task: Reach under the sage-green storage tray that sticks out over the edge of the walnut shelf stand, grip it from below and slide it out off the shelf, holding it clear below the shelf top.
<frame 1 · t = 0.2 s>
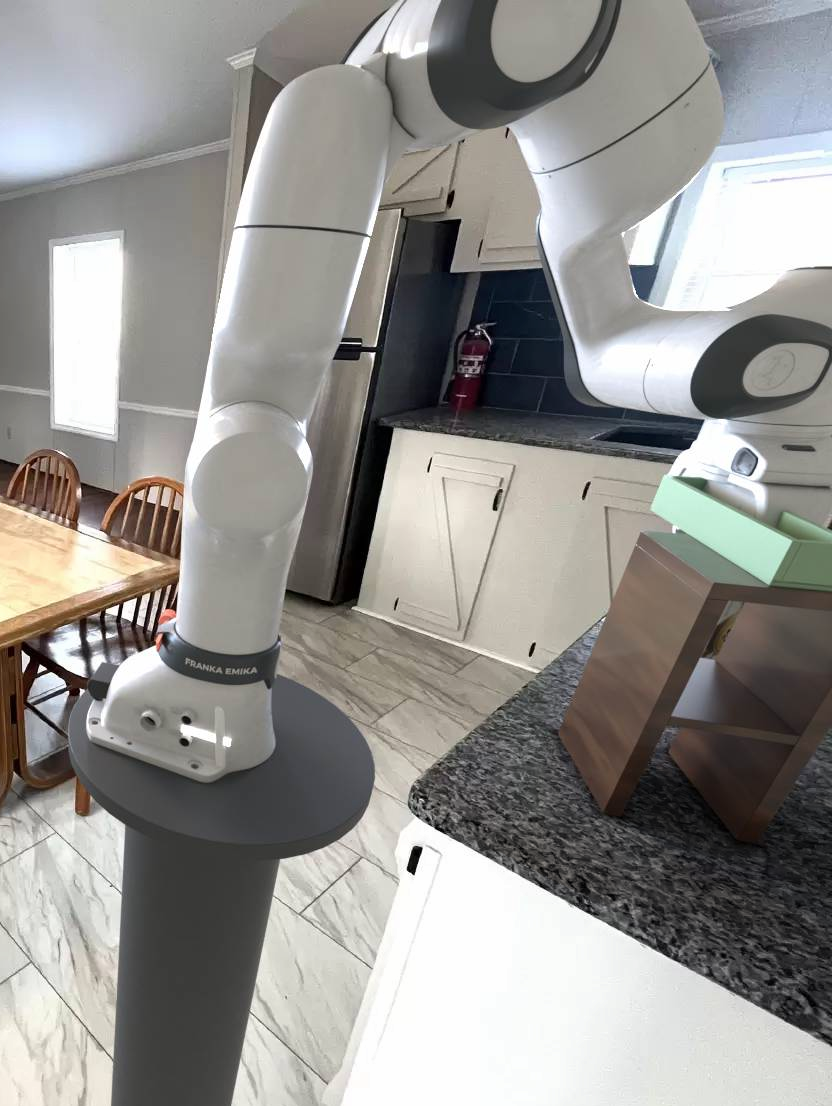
hand: (696, 573, 70), 20 cm above the worktop, tool pointing down, fingers open, 6 cm apart
storage tray: (730, 544, 61), point 26 cm above the worktop, touching shelf stand
shelf stand: (645, 782, 69), on the worktop
coffee box: (694, 650, 93), on the worktop
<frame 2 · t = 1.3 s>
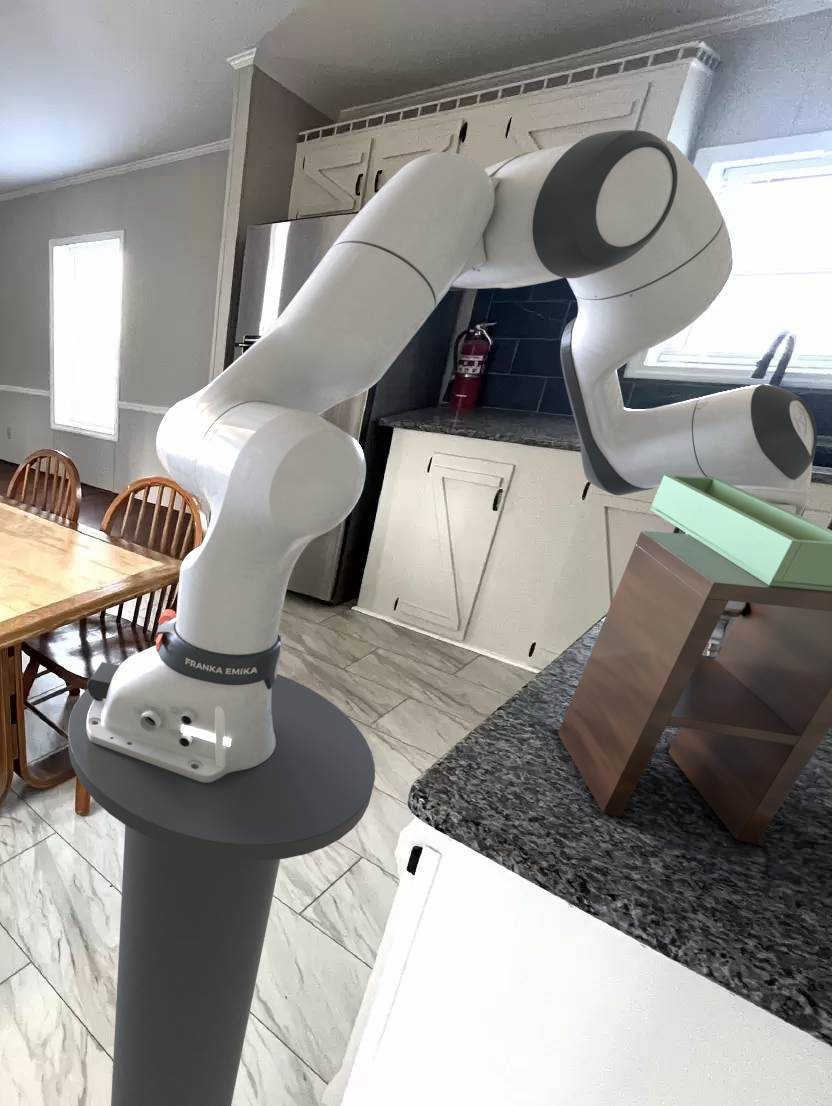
hand: (716, 636, 68), 14 cm above the worktop, tool tilted 55°, fingers open, 8 cm apart
nothing on the worktop moved.
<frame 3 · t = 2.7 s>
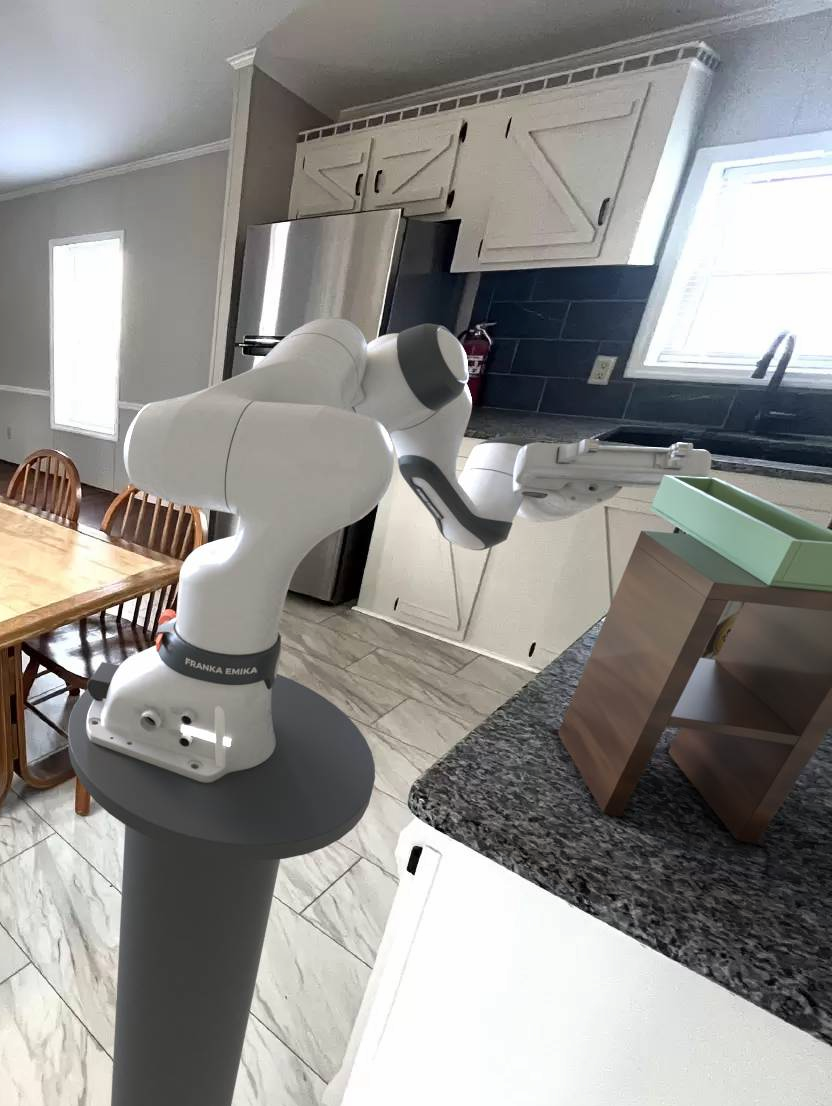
hand: (637, 446, 80), 30 cm above the worktop, tool pointing upward, fingers open, 8 cm apart
nothing on the worktop moved.
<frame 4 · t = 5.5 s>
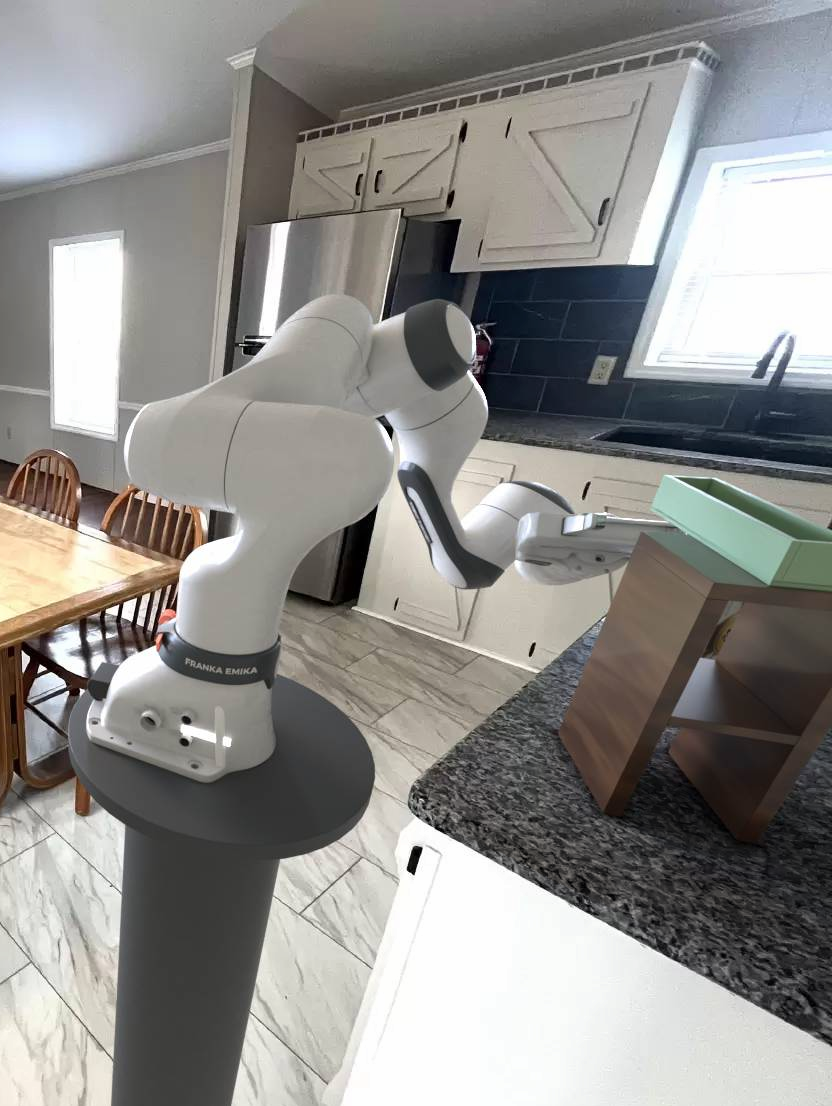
hand: (648, 523, 75), 23 cm above the worktop, tool pointing upward, fingers open, 8 cm apart
nothing on the worktop moved.
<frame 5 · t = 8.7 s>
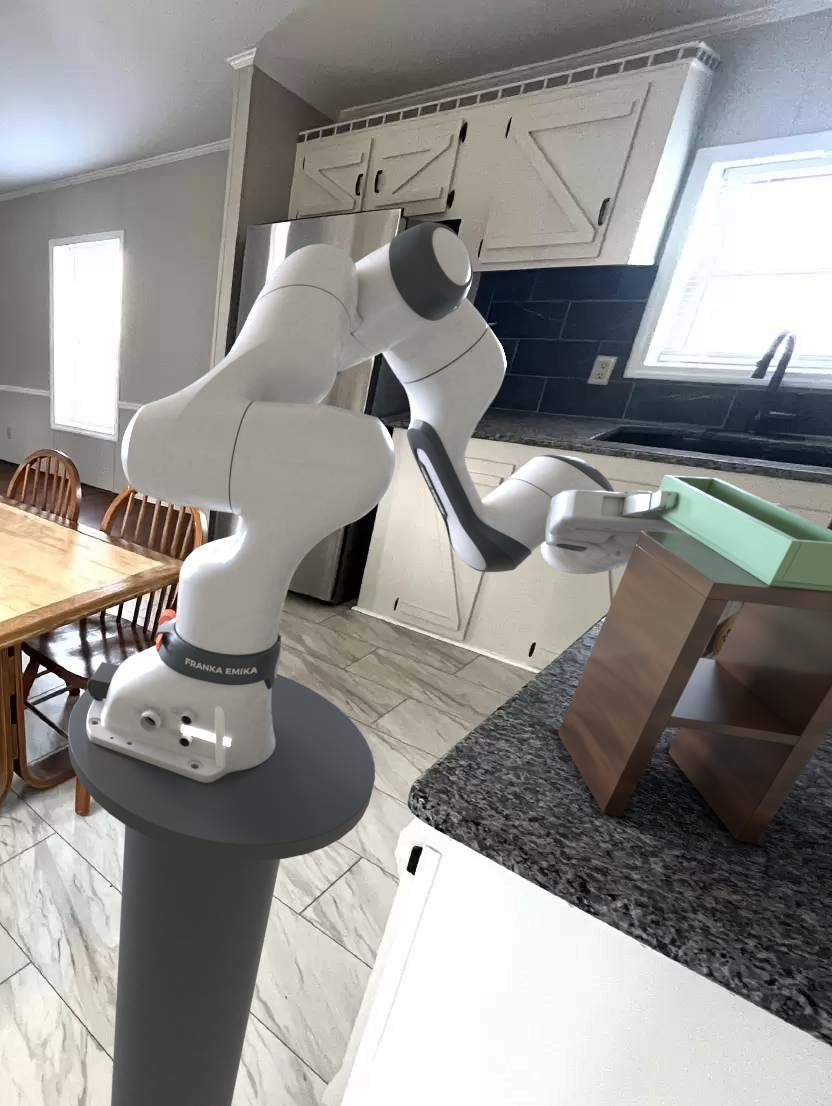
hand: (704, 500, 66), 28 cm above the worktop, tool pointing upward, fingers closed on storage tray, 4 cm apart
storage tray: (730, 544, 61), point 26 cm above the worktop, touching gripper, shelf stand
everything else where it was.
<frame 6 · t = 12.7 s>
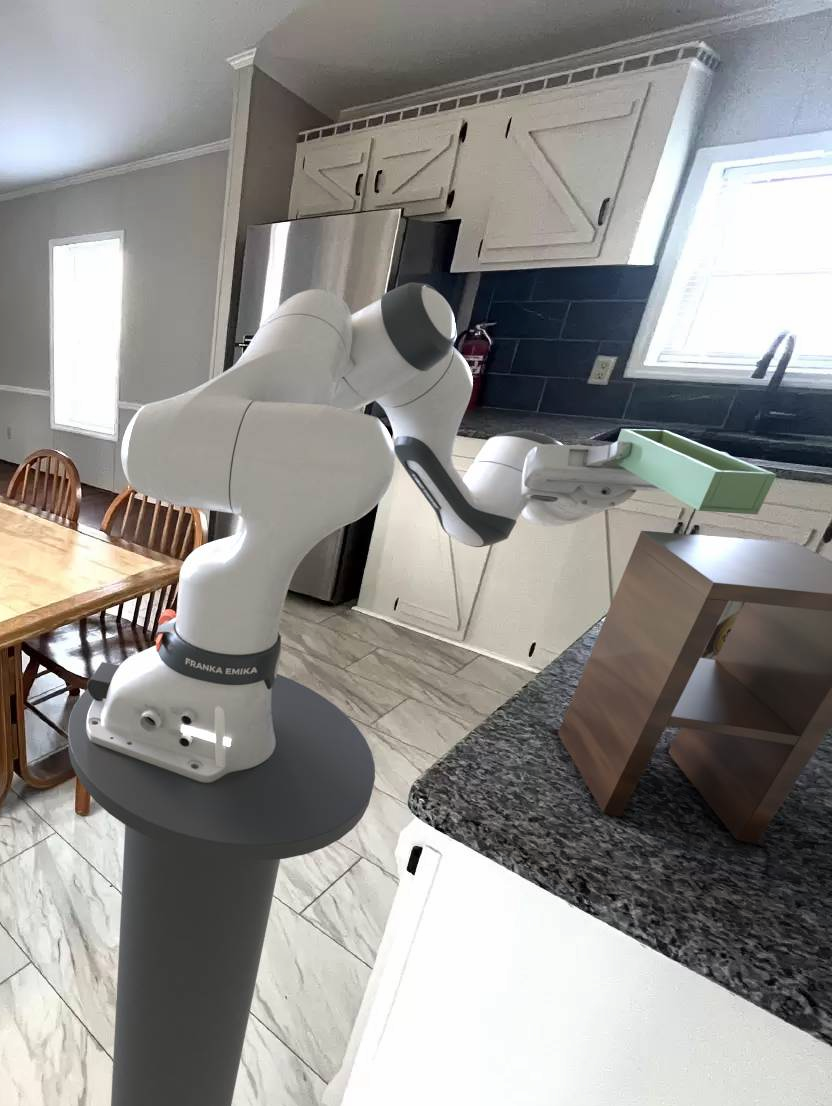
hand: (654, 449, 76), 31 cm above the worktop, tool pointing upward, fingers closed on storage tray, 4 cm apart
storage tray: (673, 483, 71), point 29 cm above the worktop, touching gripper
everything else where it was.
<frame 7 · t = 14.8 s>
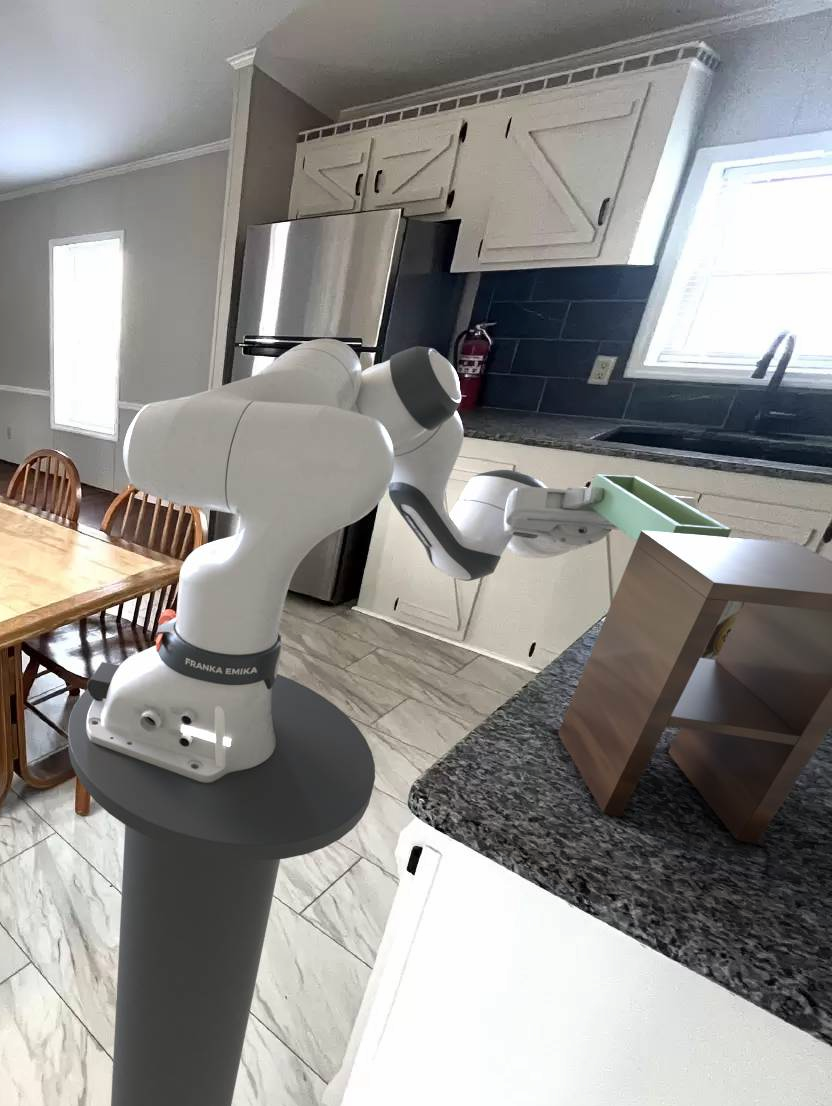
hand: (625, 495, 81), 25 cm above the worktop, tool pointing upward, fingers closed on storage tray, 4 cm apart
storage tray: (641, 530, 76), point 22 cm above the worktop, touching gripper
everything else where it was.
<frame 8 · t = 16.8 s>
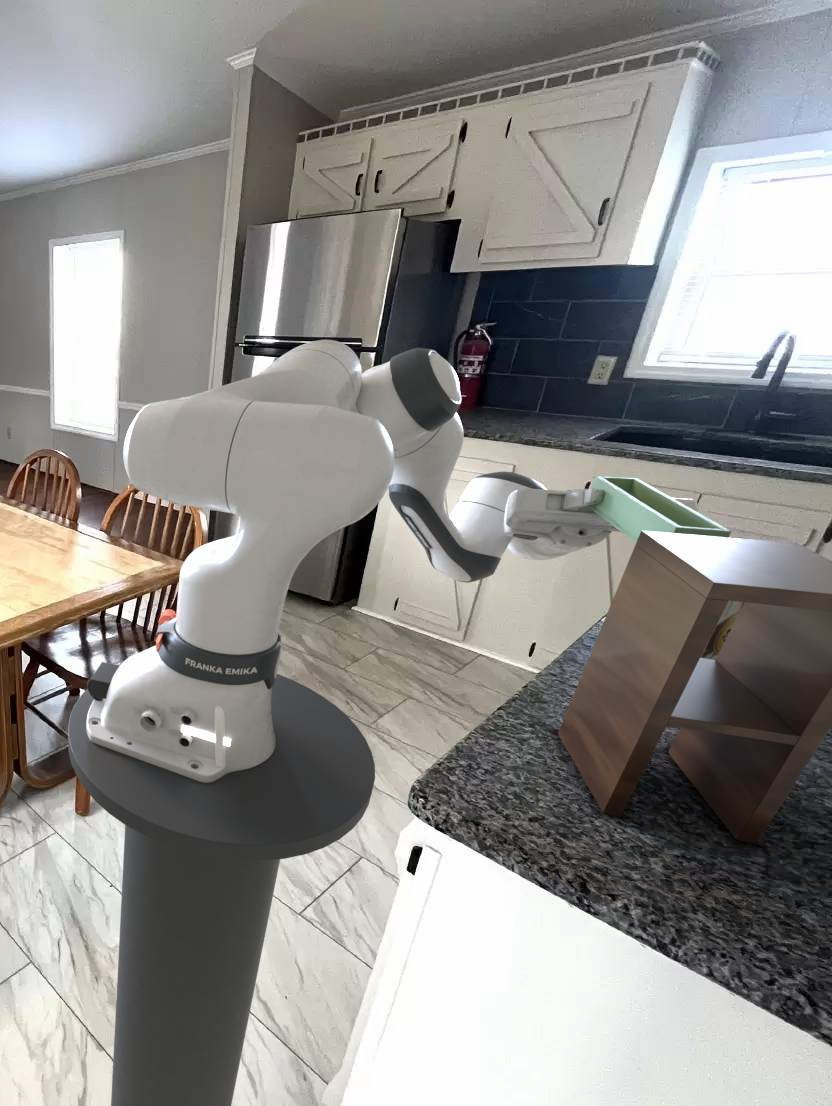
hand: (625, 497, 81), 24 cm above the worktop, tool pointing upward, fingers closed on storage tray, 4 cm apart
storage tray: (641, 531, 76), point 22 cm above the worktop, touching gripper
everything else where it was.
at the end: storage tray inside the target area (0.1 cm from its centre), point 21.9 cm above the worktop; the gripper is holding storage tray; storage tray touching gripper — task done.
